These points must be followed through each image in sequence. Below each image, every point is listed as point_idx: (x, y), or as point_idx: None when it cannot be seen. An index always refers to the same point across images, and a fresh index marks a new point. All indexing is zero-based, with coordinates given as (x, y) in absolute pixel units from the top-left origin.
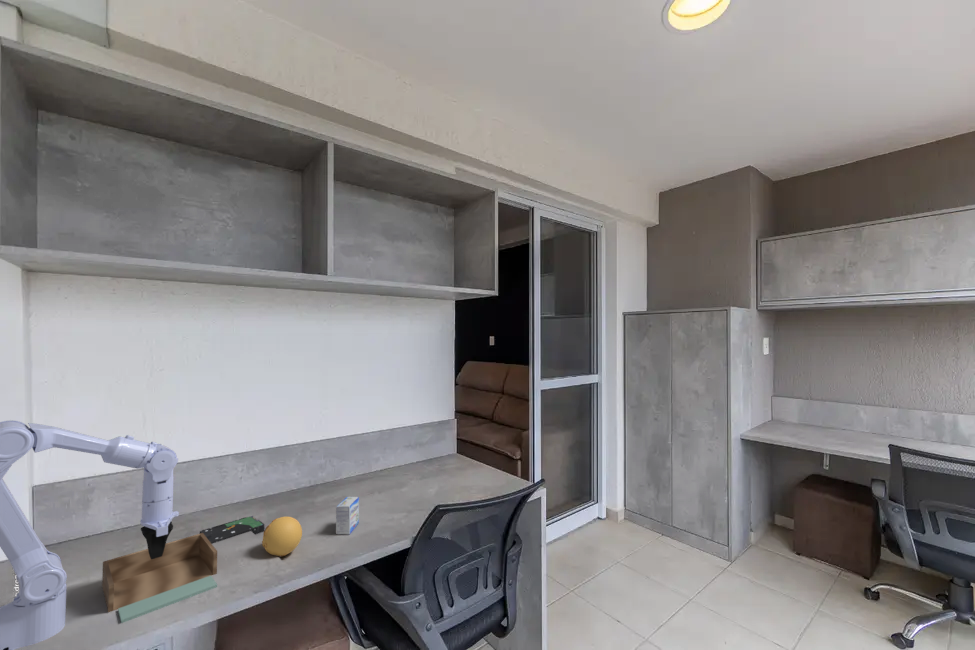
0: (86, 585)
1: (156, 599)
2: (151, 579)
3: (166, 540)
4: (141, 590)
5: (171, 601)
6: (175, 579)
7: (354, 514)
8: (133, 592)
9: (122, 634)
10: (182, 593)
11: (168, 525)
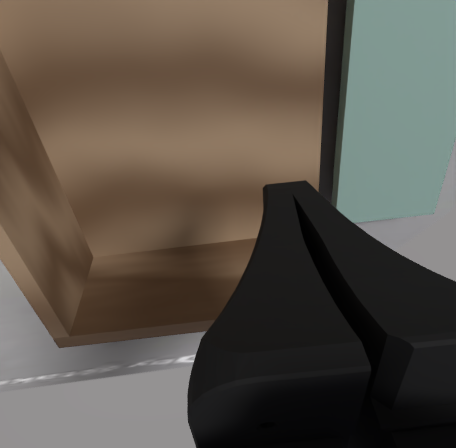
0: (12, 286)
1: (389, 115)
2: (139, 127)
3: (377, 241)
4: (228, 161)
5: None
6: (220, 21)
7: None
8: (222, 185)
9: (444, 188)
10: (451, 2)
11: (428, 374)
